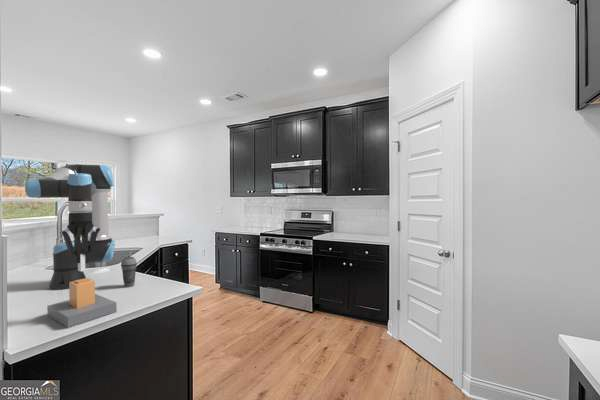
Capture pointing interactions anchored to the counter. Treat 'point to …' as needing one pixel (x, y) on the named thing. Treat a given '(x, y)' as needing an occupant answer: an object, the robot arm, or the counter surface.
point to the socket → (81, 311)
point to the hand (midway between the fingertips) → (81, 270)
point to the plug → (82, 292)
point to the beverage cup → (129, 270)
